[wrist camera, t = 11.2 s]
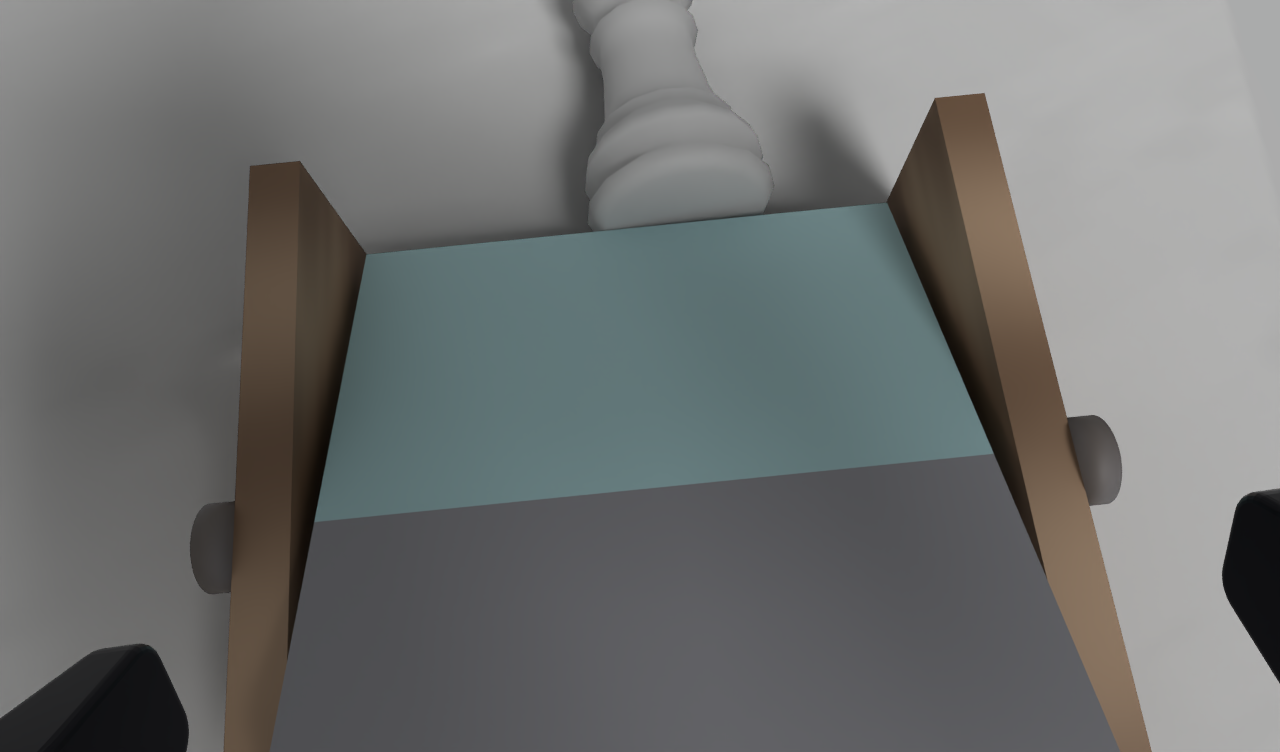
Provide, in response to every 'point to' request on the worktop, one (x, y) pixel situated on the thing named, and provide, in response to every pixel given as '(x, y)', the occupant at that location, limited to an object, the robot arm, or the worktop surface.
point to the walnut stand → (951, 277)
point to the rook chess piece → (664, 125)
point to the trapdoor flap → (670, 510)
